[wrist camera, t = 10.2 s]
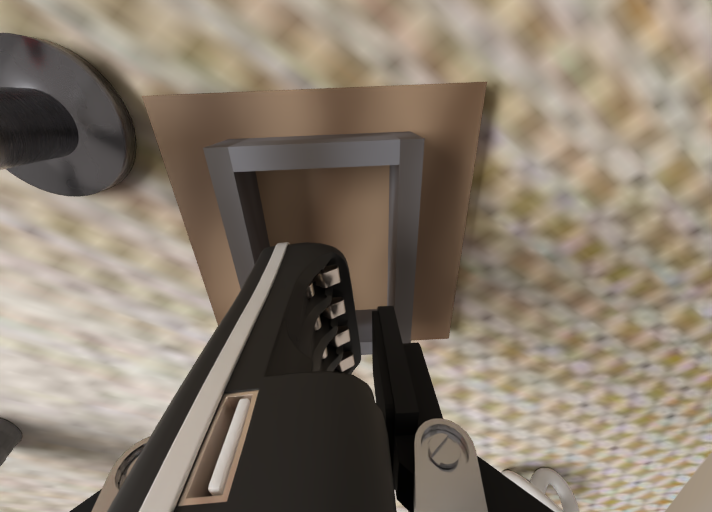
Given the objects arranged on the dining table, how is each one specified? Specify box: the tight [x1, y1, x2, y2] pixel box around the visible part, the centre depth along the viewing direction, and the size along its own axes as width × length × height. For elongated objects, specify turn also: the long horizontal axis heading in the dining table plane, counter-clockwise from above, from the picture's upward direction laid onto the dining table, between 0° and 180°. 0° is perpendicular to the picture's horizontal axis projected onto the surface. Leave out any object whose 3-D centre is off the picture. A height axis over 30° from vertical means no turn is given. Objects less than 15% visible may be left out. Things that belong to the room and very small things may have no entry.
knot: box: [502, 468, 580, 512], centre depth 30 cm, size 8×8×6 cm
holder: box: [142, 82, 487, 355], centre depth 17 cm, size 16×16×4 cm
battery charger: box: [107, 242, 396, 512], centre depth 7 cm, size 7×4×11 cm, turn 7°
